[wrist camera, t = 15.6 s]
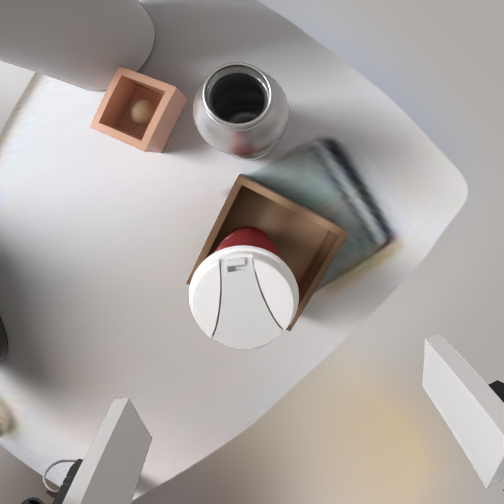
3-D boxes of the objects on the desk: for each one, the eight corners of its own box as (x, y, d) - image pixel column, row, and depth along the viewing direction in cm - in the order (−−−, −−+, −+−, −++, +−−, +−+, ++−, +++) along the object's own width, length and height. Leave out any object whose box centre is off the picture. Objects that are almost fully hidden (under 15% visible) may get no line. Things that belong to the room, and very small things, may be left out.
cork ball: (131, 121, 34) (121, 118, 31) (142, 98, 33) (133, 93, 30) (152, 130, 34) (144, 127, 31) (164, 106, 33) (156, 102, 30)
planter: (112, 131, 34) (89, 127, 29) (138, 79, 33) (119, 66, 27) (161, 153, 35) (144, 151, 29) (188, 98, 33) (176, 87, 28)
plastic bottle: (254, 172, 36) (254, 180, 16) (205, 138, 35) (150, 110, 15) (288, 127, 34) (327, 85, 15) (239, 93, 33) (222, 18, 14)
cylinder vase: (145, -8, 29) (57, -124, 5) (167, 66, 32) (54, -43, 8) (63, 33, 30) (-63, -29, 6) (78, 108, 33) (-80, 79, 9)
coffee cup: (206, 220, 36) (174, 258, 22) (279, 211, 36) (296, 243, 22) (217, 290, 39) (197, 361, 24) (287, 282, 38) (304, 350, 24)
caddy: (194, 268, 39) (186, 283, 34) (240, 173, 36) (238, 175, 31) (286, 311, 40) (290, 331, 35) (336, 223, 37) (348, 232, 32)
